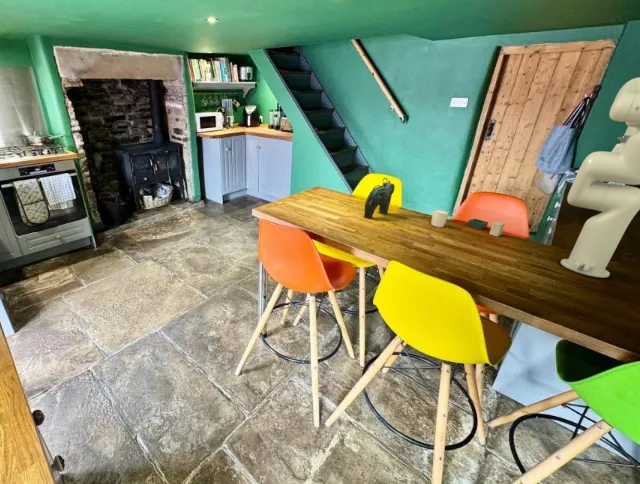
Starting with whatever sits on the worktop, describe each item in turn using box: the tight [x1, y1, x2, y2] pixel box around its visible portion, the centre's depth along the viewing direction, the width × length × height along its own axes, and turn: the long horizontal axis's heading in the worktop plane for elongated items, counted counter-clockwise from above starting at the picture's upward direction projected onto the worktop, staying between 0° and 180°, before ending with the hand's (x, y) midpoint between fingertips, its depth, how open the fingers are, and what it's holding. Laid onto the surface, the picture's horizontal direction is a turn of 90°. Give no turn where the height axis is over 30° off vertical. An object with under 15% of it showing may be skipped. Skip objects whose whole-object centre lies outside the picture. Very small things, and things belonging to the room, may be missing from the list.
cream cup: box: [430, 209, 450, 228], centre depth 149 cm, size 7×7×7 cm
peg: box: [488, 220, 506, 237], centre depth 140 cm, size 3×3×6 cm
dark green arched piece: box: [363, 177, 395, 220], centre depth 155 cm, size 20×6×20 cm, turn 128°
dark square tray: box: [466, 218, 489, 230], centre depth 150 cm, size 6×6×3 cm
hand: (615, 183), depth 126 cm, fingers open, 9 cm apart
